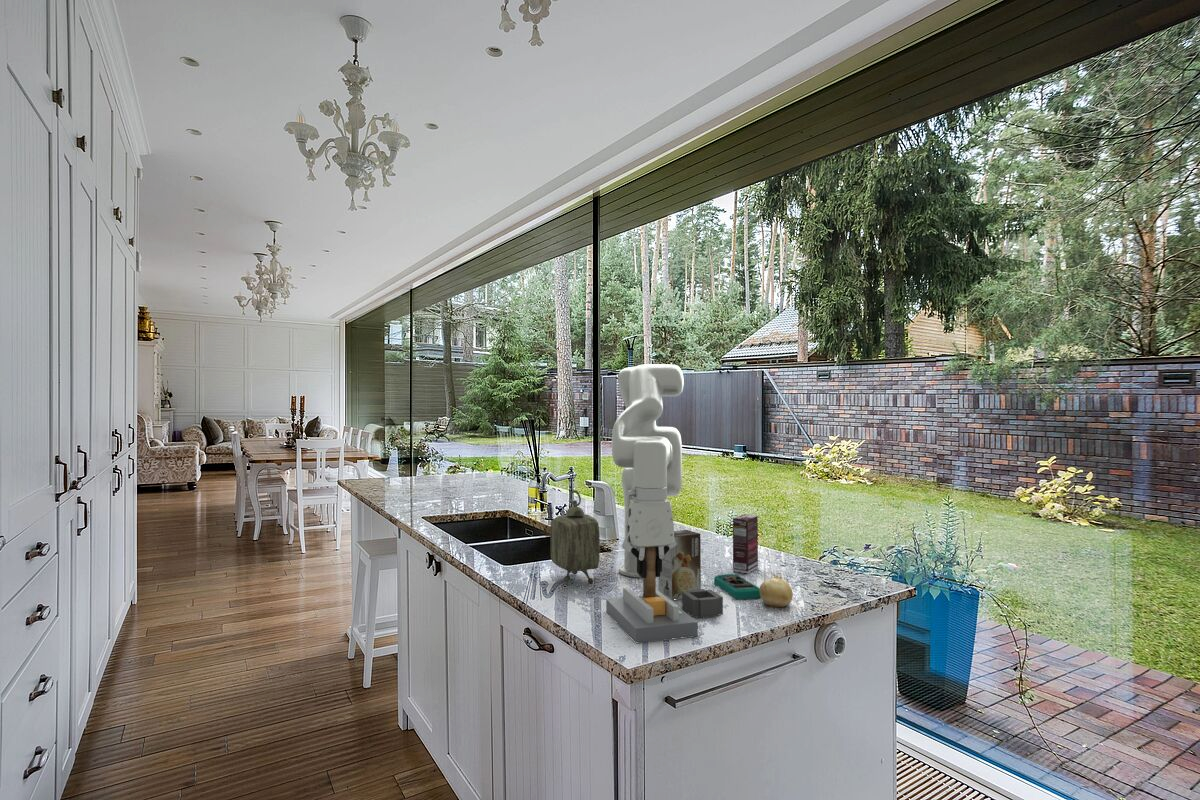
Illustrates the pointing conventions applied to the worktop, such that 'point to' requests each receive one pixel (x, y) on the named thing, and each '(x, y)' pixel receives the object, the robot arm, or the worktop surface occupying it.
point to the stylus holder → (702, 603)
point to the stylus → (650, 573)
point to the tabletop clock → (575, 541)
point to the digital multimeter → (737, 586)
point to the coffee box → (681, 566)
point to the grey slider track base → (650, 618)
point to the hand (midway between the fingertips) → (649, 575)
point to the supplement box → (745, 543)
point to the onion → (776, 592)
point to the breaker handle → (656, 605)
